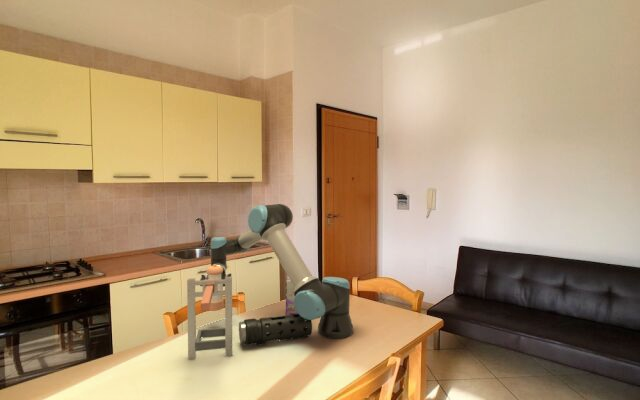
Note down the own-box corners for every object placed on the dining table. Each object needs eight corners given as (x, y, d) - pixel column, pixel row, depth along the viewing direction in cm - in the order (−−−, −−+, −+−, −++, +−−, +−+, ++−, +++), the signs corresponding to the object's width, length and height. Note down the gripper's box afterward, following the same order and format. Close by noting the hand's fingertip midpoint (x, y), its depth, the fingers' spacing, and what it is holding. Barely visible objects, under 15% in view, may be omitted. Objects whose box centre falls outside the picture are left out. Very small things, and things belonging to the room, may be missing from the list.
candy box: (316, 312, 178) (316, 279, 177) (313, 317, 173) (313, 282, 172) (289, 310, 181) (289, 277, 180) (285, 314, 176) (285, 280, 175)
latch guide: (189, 356, 133) (188, 278, 131) (232, 352, 136) (231, 276, 135) (188, 359, 131) (187, 280, 129) (232, 355, 134) (231, 278, 132)
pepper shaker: (207, 311, 153) (206, 266, 152) (205, 306, 159) (205, 263, 158) (225, 309, 156) (224, 265, 154) (222, 304, 162) (222, 261, 161)
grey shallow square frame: (198, 336, 150) (198, 329, 150) (229, 334, 153) (229, 327, 153) (194, 350, 138) (194, 342, 138) (228, 347, 141) (228, 340, 140)
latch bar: (203, 293, 134) (203, 279, 134) (217, 292, 135) (217, 279, 135) (196, 315, 112) (196, 299, 112) (213, 314, 113) (213, 298, 113)
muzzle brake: (312, 341, 147) (312, 316, 146) (241, 352, 137) (241, 325, 136) (305, 332, 156) (305, 308, 155) (238, 341, 146) (238, 316, 145)
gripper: (237, 280, 177) (236, 295, 154) (197, 282, 173) (190, 297, 150) (237, 264, 176) (236, 277, 153) (197, 266, 172) (190, 279, 150)
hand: (214, 287), depth 152 cm, fingers closed on pepper shaker, 5 cm apart
